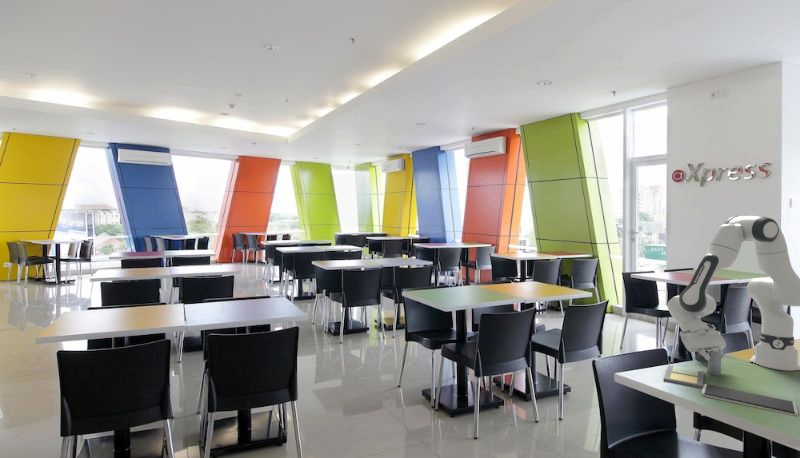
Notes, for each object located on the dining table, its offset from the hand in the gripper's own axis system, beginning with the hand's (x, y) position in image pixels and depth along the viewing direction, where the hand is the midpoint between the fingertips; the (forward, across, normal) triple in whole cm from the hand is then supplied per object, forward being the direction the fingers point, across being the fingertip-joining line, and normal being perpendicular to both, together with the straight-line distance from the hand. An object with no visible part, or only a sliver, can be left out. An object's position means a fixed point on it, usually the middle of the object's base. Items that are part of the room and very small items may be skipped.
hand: (716, 358), depth 196 cm
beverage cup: (-8, +15, +17) cm, 24 cm away
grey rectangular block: (+4, 0, +5) cm, 6 cm away
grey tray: (+22, -18, -12) cm, 31 cm away
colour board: (+4, -17, +5) cm, 18 cm away
